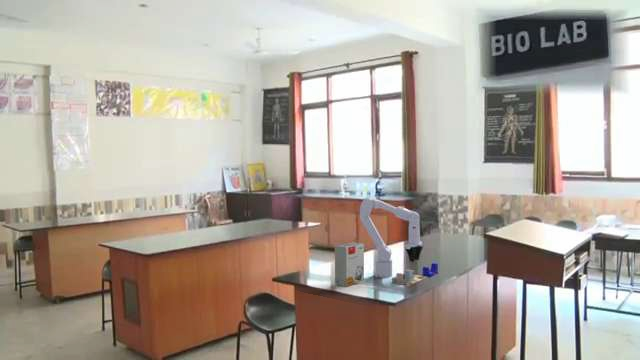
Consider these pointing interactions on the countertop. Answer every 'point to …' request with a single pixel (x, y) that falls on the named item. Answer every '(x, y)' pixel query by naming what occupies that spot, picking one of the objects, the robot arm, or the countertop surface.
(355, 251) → the hard drive box
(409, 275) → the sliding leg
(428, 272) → the cable clip
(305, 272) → the countertop surface
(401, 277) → the board
